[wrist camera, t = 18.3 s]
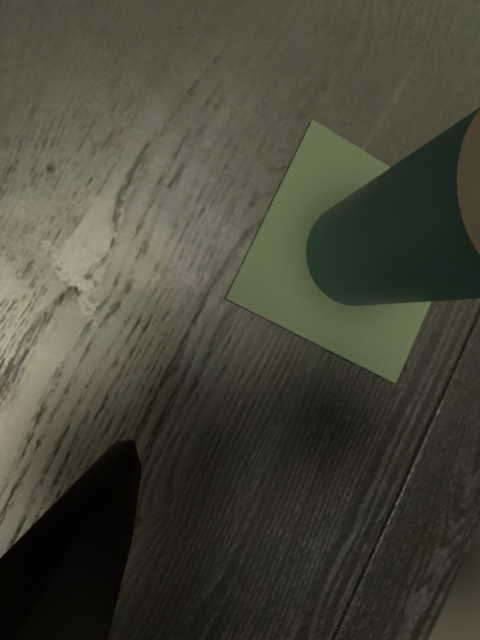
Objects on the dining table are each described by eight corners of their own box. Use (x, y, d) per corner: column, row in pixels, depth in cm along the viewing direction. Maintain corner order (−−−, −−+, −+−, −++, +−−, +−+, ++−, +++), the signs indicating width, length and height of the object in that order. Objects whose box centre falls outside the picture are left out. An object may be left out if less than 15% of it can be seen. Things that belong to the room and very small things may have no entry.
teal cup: (371, 327, 21) (621, 340, 10) (284, 270, 20) (444, 204, 9) (420, 239, 22) (715, 148, 10) (338, 179, 21) (559, 0, 9)
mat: (392, 383, 22) (396, 384, 22) (224, 299, 20) (225, 298, 20) (465, 217, 23) (469, 216, 22) (310, 121, 21) (312, 118, 21)
